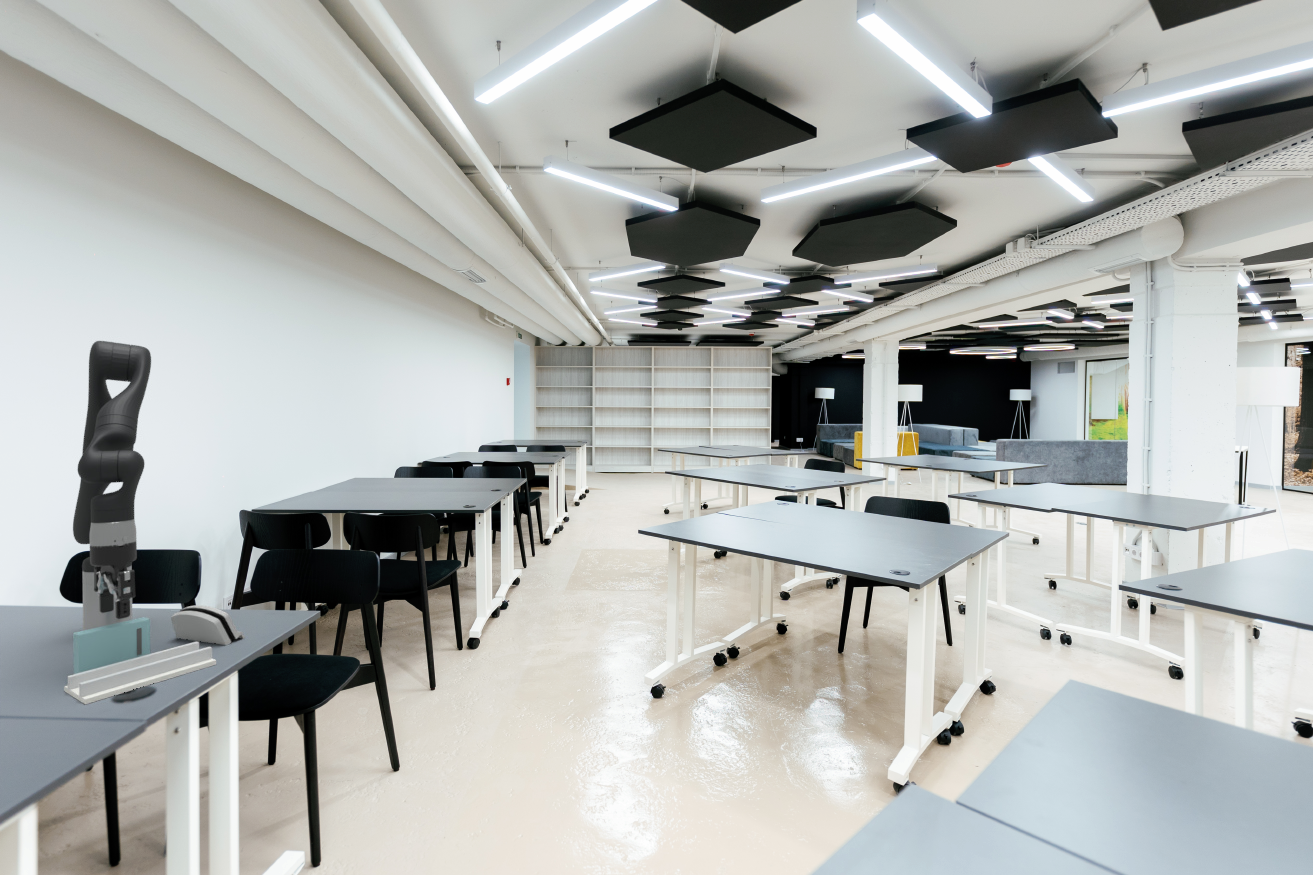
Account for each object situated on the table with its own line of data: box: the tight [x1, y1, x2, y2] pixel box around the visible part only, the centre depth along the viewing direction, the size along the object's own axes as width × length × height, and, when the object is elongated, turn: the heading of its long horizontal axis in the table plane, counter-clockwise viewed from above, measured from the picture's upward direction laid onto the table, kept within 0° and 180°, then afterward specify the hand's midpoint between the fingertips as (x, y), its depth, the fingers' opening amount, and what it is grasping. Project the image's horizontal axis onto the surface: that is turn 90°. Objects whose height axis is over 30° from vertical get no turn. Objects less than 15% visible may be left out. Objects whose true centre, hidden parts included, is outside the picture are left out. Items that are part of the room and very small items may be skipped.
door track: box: [63, 641, 217, 705], centre depth 125 cm, size 11×22×4 cm, turn 150°
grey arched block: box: [170, 604, 246, 646], centre depth 146 cm, size 17×5×10 cm, turn 75°
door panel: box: [72, 616, 151, 675], centre depth 128 cm, size 3×12×10 cm, turn 150°
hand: (114, 614), depth 128 cm, fingers open, 8 cm apart
